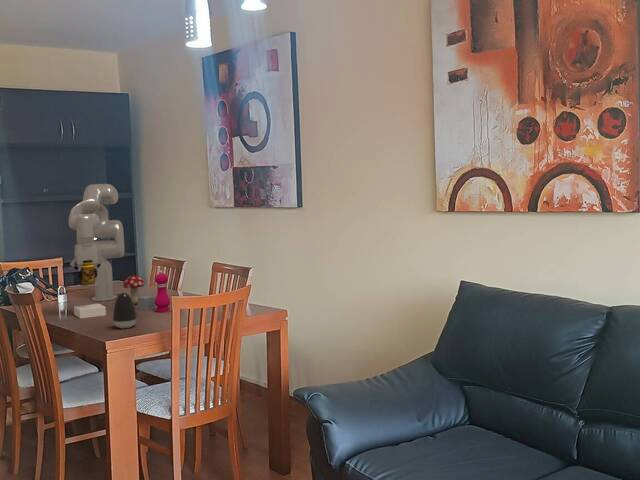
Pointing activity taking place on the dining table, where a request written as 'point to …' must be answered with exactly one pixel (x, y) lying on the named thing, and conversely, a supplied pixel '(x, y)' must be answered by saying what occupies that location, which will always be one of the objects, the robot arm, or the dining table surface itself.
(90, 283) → the condiment
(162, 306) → the pepper mill
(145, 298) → the slate cube
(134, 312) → the dark grey domed cylinder
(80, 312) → the cream block
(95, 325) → the dining table surface
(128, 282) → the decorative mushroom
